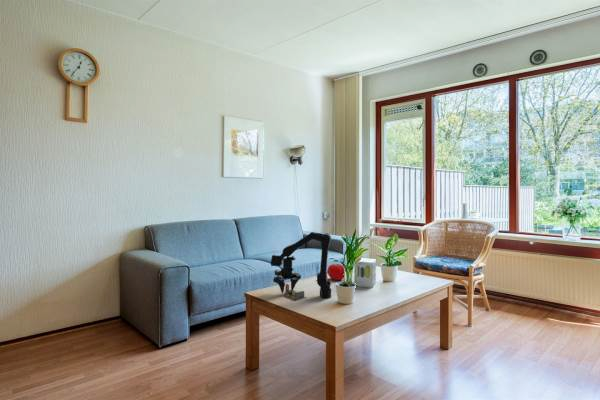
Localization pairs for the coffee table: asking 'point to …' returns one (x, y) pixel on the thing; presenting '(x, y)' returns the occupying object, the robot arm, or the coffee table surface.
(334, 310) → the coffee table surface
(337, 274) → the tomato
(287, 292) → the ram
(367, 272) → the supplement box
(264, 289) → the coffee table surface
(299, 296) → the beige mounting plate
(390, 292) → the coffee table surface
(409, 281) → the coffee table surface
